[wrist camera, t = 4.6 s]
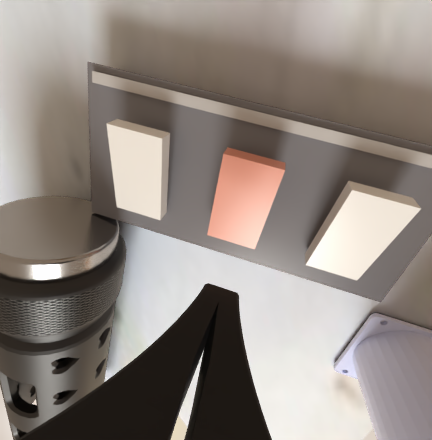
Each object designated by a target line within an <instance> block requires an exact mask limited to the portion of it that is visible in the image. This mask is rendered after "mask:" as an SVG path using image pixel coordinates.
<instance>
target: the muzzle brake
mask: <svg viewBox="0 0 432 440" xmlns="http://www.w3.org/2000/svg"><path fill="white" fill-rule="evenodd" d="M125 259H126V246H125V242H124V240H123V238H122V237H121V235H120V233H119V223H118V220H116V219H112V218H109V217H106V216H103V215H100V214H96V213H93V212H92V205H91V201H88V200H84V199H80V198H73V197H64V196H41V197H32V198H26V199H21V200H17V201H13V202H10V203H7V204H4V205H2V206H0V385H1V390H2V394H3V398H4V402H5V407H6V411H7V415H8V419H9V423H10V427H11V431H12V436H13V439H14V440H17V439H19V438H20V437H22V436H23V435H25V434H27V433H28V432H30V431H32V430H33V429H35V428H36V427H38V426H40V425H41V424H43V423H45V422H46V421H48V420H49V419H51V418H53V417H54V416H56V415H57V414H59V413H61V412H62V411H64V410H65V409H67V408H68V407H70V406H71V405H73V404H74V403H75V402H77V401H78V400H80V399H81V398H83V397H84V396H86V395H87V394H89V393H90V392H91V391H93V390H94V389H96V388H97V387H99V386H100V385H102V384H103V383H104V379H105V372H106V365H107V358H108V351H109V344H110V337H111V330H112V323H113V316H114V309H115V302H116V298H117V296H118V294H119V291H120V289H121V285H122V279H123V272H124V266H125ZM35 399H36V402H37V405H33V404H32V403H33V402H34V400H35Z"/></svg>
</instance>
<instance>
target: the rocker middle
mask: <svg viewBox="0 0 432 440" xmlns="http://www.w3.org/2000/svg"><path fill="white" fill-rule="evenodd" d="M285 164H286V163H284V162H281V161H277V160H273V159H269V158H266V157H262V156H258V155H254V154H251V153H247V152H243V151H239V150H236V149H232V148H228V147H227V149H226V150H225V152H224V153H223V158H222V163H221V168H220V173H219V178H218V183H217V188H216V193H215V198H214V203H213V208H212V213H211V218H210V223H209V228H208V233H207V235H209V236H212V237H215V238H219V239H222V240H225V241H229V242H232V243H235V244H238V245H242V246H245V247H248V248H251V249H255V248H256V245H257V242H258V240H259V237H260V235H261V232H262V229H263V227H264V224H265V222H266V219H267V216H268V214H269V211H270V209H271V206H272V203H273V201H274V198H275V196H276V193H277V190H278V188H279V185H280V183H281V180H282V177H283V175H284V172H285Z"/></svg>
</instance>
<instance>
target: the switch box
mask: <svg viewBox="0 0 432 440" xmlns="http://www.w3.org/2000/svg"><path fill="white" fill-rule="evenodd" d="M88 96H89V132H90V169H91V205H92V212H93V213H96V214H100V215H103V216H106V217H109V218H112V219H116V220H119V221H122V222H125V223H128V224H132V225H135V226H138V227H141V228H144V229H148V230H151V231H154V232H157V233H160V234H164V235H167V236H170V237H173V238H176V239H180V240H183V241H186V242H189V243H193V244H196V245H199V246H202V247H205V248H209V249H212V250H215V251H218V252H221V253H225V254H228V255H231V256H234V257H237V258H241V259H244V260H247V261H250V262H253V263H257V264H260V265H263V266H266V267H269V268H273V269H276V270H279V271H282V272H285V273H289V274H292V275H295V276H298V277H301V278H305V279H308V280H311V281H314V282H317V283H321V284H324V285H327V286H330V287H333V288H337V289H340V290H343V291H346V292H349V293H353V294H356V295H359V296H362V297H365V298H369V299H372V300H375V301H378V302H381V301H382V300H383V299H384V297H385V296H386V295H387V293H388V292H389V291H390V289H391V288H392V287H393V285H394V284H395V283H396V281H397V280H398V278H399V277H400V276H401V274H402V273H403V272H404V270H405V269H406V268H407V266H408V265H409V264H410V262H411V261H412V260H413V258H414V257H415V256H416V254H417V253H418V252H419V250H420V249H421V248H422V246H423V245H424V244H425V242H426V241H427V240H428V238H429V237H430V235H431V234H432V146H430V145H426V144H422V143H418V142H414V141H410V140H405V139H401V138H397V137H393V136H389V135H385V134H381V133H377V132H373V131H369V130H365V129H361V128H356V127H352V126H348V125H344V124H340V123H336V122H332V121H328V120H324V119H320V118H316V117H311V116H307V115H303V114H299V113H295V112H291V111H287V110H283V109H279V108H275V107H271V106H267V105H262V104H258V103H254V102H250V101H246V100H242V99H238V98H234V97H230V96H226V95H222V94H217V93H213V92H209V91H205V90H201V89H197V88H193V87H189V86H185V85H181V84H177V83H173V82H168V81H164V80H160V79H156V78H152V77H148V76H144V75H140V74H136V73H132V72H128V71H124V70H119V69H115V68H111V67H107V66H103V65H99V64H95V63H91V62H88ZM116 119H120V120H123V121H127V122H131V123H135V124H138V125H142V126H146V127H150V128H153V129H157V130H161V131H165V132H168V133H170V145H169V168H168V192H167V212H166V214H165V215H164V216H163V218H162V219H161V220H157V219H154V218H151V217H148V216H144V215H141V214H138V213H135V212H131V211H128V210H125V209H122V208H118V207H117V205H116V197H115V189H114V181H113V173H112V165H111V156H110V148H109V140H108V132H107V123H109V122H111V121H113V120H116ZM227 147H228V148H232V149H236V150H239V151H243V152H247V153H251V154H254V155H258V156H262V157H266V158H269V159H273V160H277V161H281V162H284V163H286V164H285V172H284V175H283V177H282V180H281V183H280V185H279V188H278V190H277V193H276V196H275V198H274V201H273V203H272V206H271V209H270V211H269V214H268V216H267V219H266V222H265V224H264V227H263V229H262V232H261V235H260V237H259V240H258V242H257V245H256V248H255V249H251V248H248V247H245V246H242V245H238V244H235V243H232V242H229V241H225V240H222V239H219V238H215V237H212V236H209V235H207V233H208V228H209V223H210V218H211V213H212V208H213V203H214V198H215V193H216V188H217V183H218V178H219V173H220V168H221V163H222V158H223V153H224V152H225V150H226V149H227ZM348 181H352V182H356V183H359V184H363V185H367V186H371V187H374V188H378V189H382V190H386V191H389V192H393V193H397V194H401V195H404V196H408V197H412V198H413V199H414V200H415V201H416V202H417V204H418V205H419V206H420V208H421V210H420V211H419V212H418V213H417V214H416V215H415V216H414V217H413V219H412V220H411V221H410V222H409V223H408V224H407V225H406V226H405V227H404V229H403V230H402V231H401V232H400V233H399V234H398V235H397V236H396V238H395V239H394V240H393V241H392V242H391V243H390V244H389V245H388V247H387V248H386V249H385V250H384V251H383V252H382V253H381V254H380V256H379V257H378V258H377V259H376V260H375V261H374V262H373V263H372V264H371V266H370V267H369V268H368V269H367V270H366V271H365V272H364V273H363V275H362V276H361V277H360V278H359V279H358V280H357V281H356V280H353V279H350V278H347V277H343V276H340V275H337V274H334V273H330V272H327V271H324V270H321V269H317V268H314V267H311V266H307V265H306V264H305V253H306V251H307V250H308V248H309V246H310V245H311V243H312V241H313V240H314V238H315V236H316V234H317V233H318V231H319V229H320V228H321V226H322V224H323V223H324V221H325V219H326V218H327V216H328V214H329V213H330V211H331V209H332V208H333V206H334V204H335V202H336V201H337V199H338V197H339V196H340V194H341V192H342V191H343V189H344V187H345V186H346V184H347V182H348Z"/></svg>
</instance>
